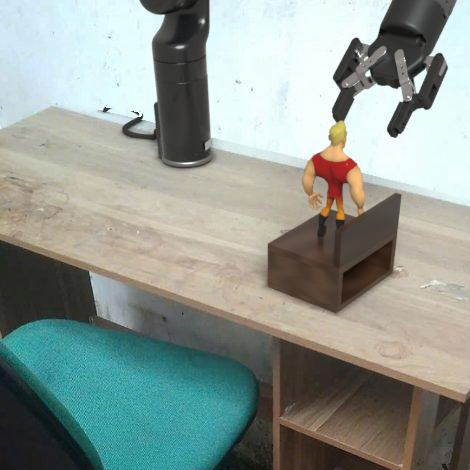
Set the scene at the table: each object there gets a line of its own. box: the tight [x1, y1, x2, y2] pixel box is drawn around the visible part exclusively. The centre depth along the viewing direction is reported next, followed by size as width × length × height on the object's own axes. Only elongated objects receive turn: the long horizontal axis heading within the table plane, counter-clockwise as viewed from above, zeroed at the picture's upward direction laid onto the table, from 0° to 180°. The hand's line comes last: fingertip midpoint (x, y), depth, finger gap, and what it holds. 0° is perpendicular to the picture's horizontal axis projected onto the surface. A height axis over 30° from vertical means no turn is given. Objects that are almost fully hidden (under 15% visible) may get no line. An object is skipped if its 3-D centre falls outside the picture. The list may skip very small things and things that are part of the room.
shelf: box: [267, 192, 403, 314], centre depth 110 cm, size 12×14×12 cm
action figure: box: [301, 120, 366, 236], centre depth 104 cm, size 10×4×15 cm, turn 54°
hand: (363, 127), depth 104 cm, fingers open, 8 cm apart
